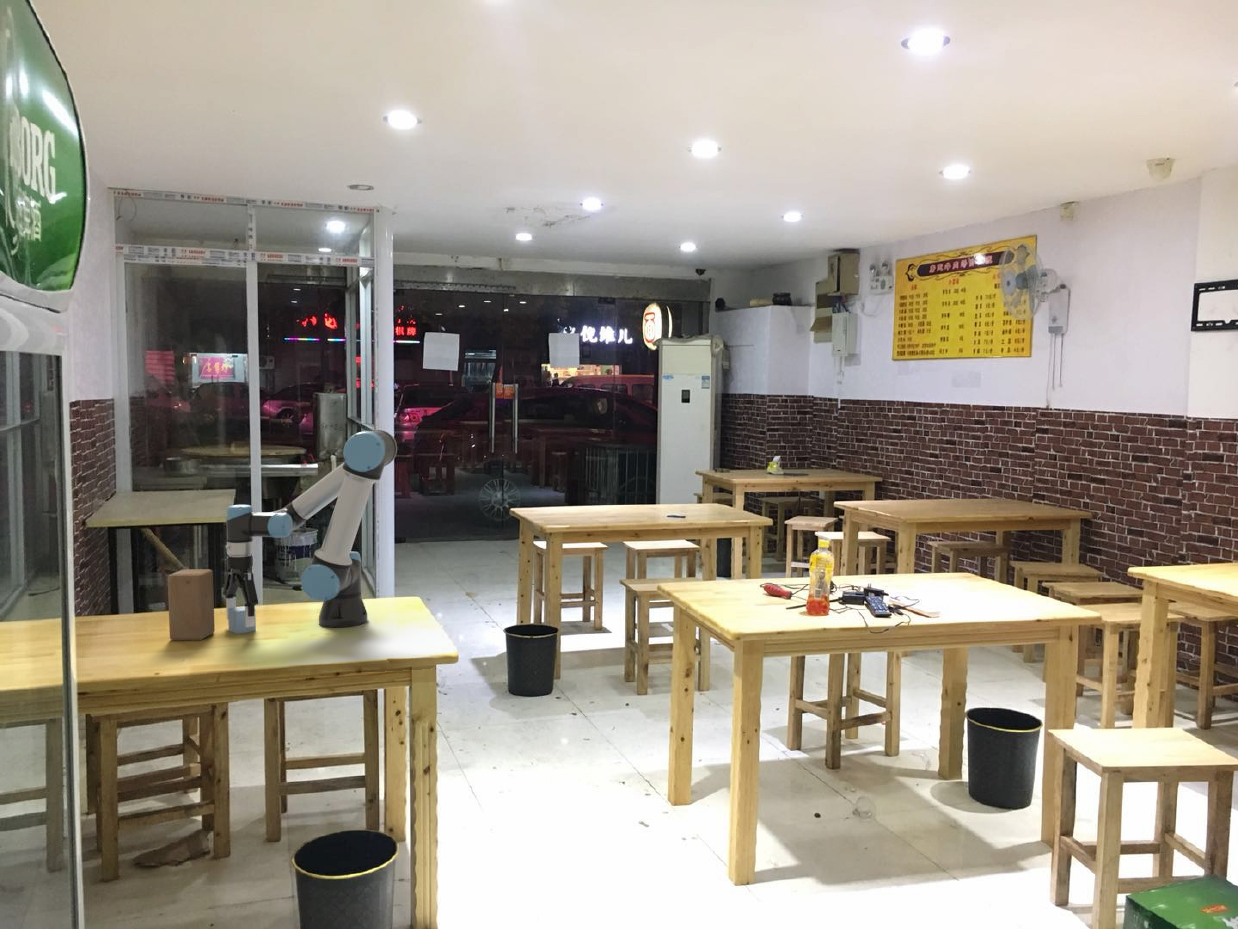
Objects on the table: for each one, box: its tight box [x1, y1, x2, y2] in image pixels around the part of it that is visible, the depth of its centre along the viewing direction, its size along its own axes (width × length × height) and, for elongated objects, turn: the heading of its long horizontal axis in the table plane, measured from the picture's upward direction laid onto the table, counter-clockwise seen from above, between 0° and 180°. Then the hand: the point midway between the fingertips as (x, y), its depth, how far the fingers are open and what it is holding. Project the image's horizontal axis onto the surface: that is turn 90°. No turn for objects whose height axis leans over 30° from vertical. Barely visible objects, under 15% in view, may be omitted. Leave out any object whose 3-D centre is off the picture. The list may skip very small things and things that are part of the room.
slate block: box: [227, 605, 257, 635], centre depth 303 cm, size 6×6×7 cm
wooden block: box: [167, 568, 215, 641], centre depth 295 cm, size 10×10×20 cm
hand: (240, 622), depth 303 cm, fingers open, 13 cm apart
